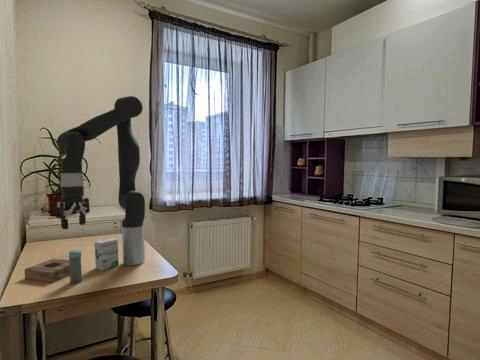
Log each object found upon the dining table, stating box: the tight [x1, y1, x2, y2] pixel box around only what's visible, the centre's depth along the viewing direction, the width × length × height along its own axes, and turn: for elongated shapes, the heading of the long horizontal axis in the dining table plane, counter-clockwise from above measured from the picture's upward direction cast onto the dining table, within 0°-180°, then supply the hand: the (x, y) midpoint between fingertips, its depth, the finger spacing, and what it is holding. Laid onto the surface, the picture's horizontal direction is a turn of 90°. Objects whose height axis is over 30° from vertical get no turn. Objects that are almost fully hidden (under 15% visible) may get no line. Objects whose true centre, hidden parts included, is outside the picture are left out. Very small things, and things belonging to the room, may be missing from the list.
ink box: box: [94, 238, 120, 271], centre depth 141 cm, size 9×5×12 cm, turn 141°
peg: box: [68, 249, 83, 285], centre depth 124 cm, size 4×4×12 cm
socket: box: [24, 258, 70, 283], centre depth 132 cm, size 14×14×4 cm
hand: (74, 226), depth 123 cm, fingers open, 8 cm apart
